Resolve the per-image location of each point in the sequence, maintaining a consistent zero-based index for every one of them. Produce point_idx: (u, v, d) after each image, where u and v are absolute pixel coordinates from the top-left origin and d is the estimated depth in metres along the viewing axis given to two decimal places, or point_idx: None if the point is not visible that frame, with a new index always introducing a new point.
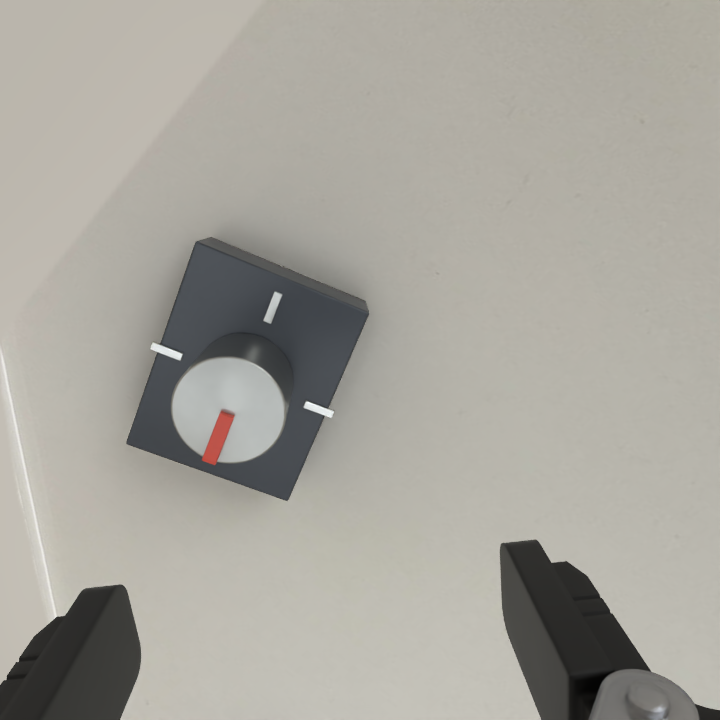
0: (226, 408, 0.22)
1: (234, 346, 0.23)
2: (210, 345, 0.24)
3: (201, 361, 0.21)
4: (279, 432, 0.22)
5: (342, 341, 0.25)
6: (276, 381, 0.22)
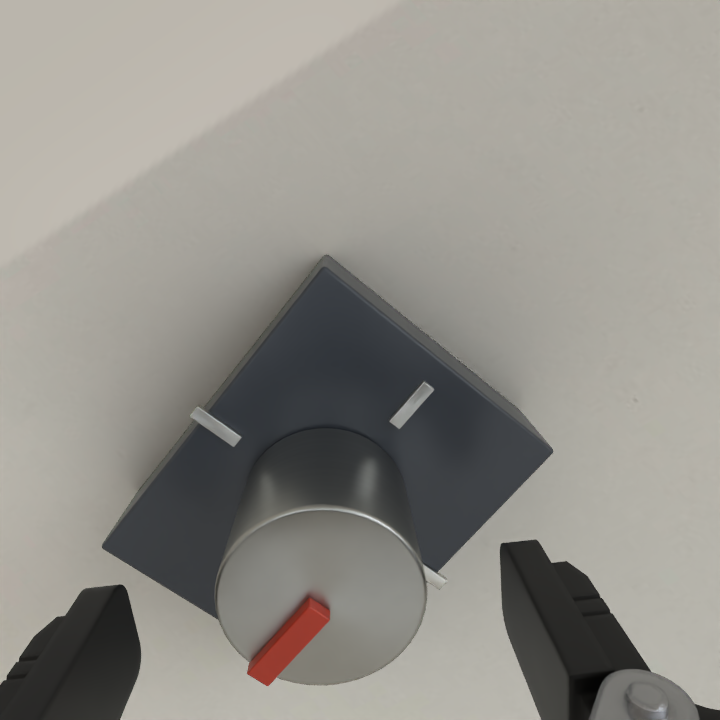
0: (320, 595, 0.12)
1: (353, 474, 0.13)
2: (296, 442, 0.14)
3: (303, 505, 0.11)
4: (397, 654, 0.12)
5: (497, 482, 0.16)
6: (423, 569, 0.12)
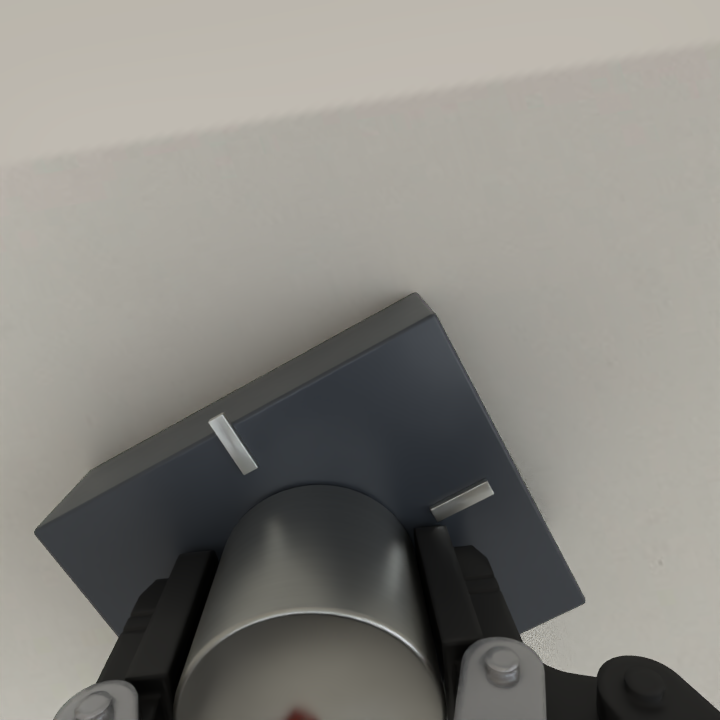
0: (310, 719, 0.09)
1: (353, 554, 0.10)
2: (283, 504, 0.12)
3: (288, 606, 0.09)
4: None
5: (514, 614, 0.14)
6: (442, 685, 0.09)
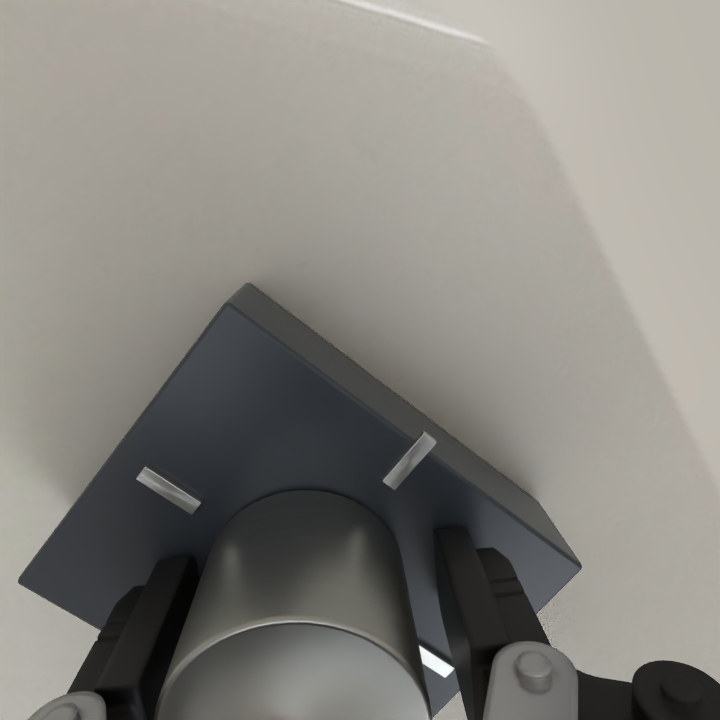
0: None
1: (334, 560, 0.10)
2: (265, 512, 0.12)
3: (265, 617, 0.09)
4: None
5: None
6: (426, 689, 0.09)
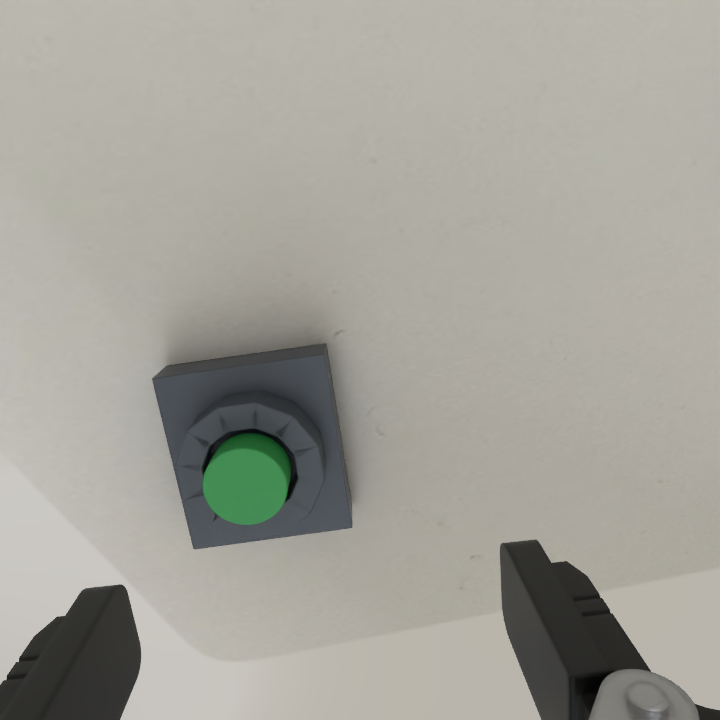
0: None
1: None
2: None
3: None
4: None
5: None
6: None
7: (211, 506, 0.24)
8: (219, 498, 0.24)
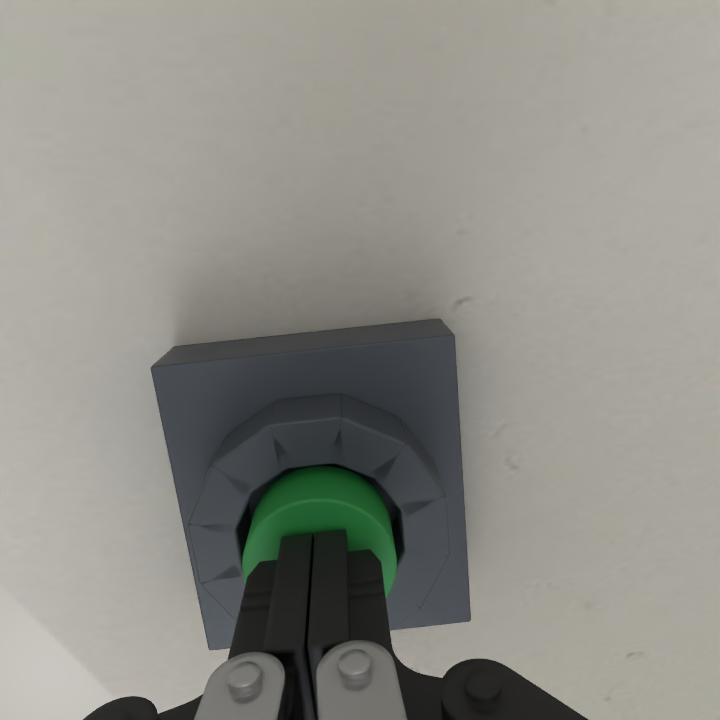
0: None
1: None
2: None
3: None
4: None
5: None
6: None
7: None
8: None
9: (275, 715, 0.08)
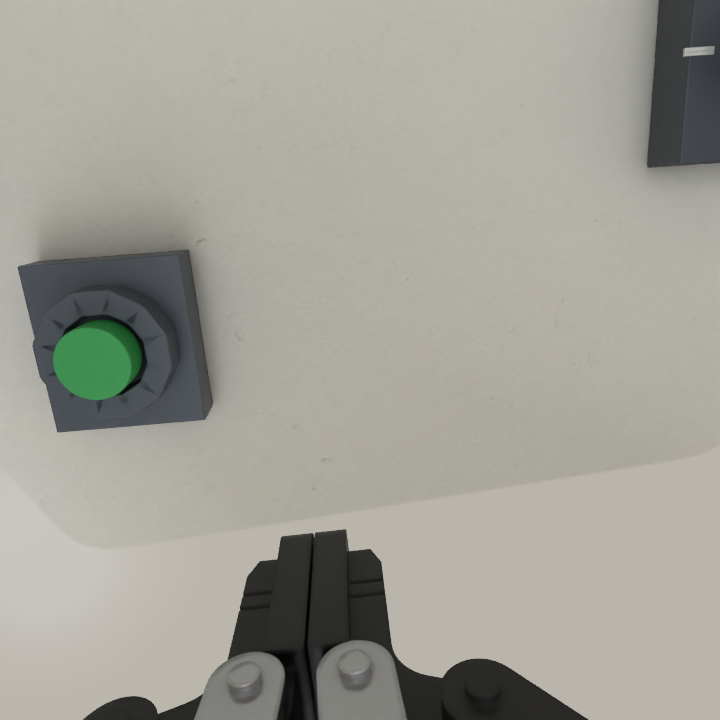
0: None
1: None
2: None
3: None
4: None
5: (695, 128, 0.28)
6: None
7: (61, 380, 0.27)
8: (68, 373, 0.27)
9: (275, 715, 0.08)
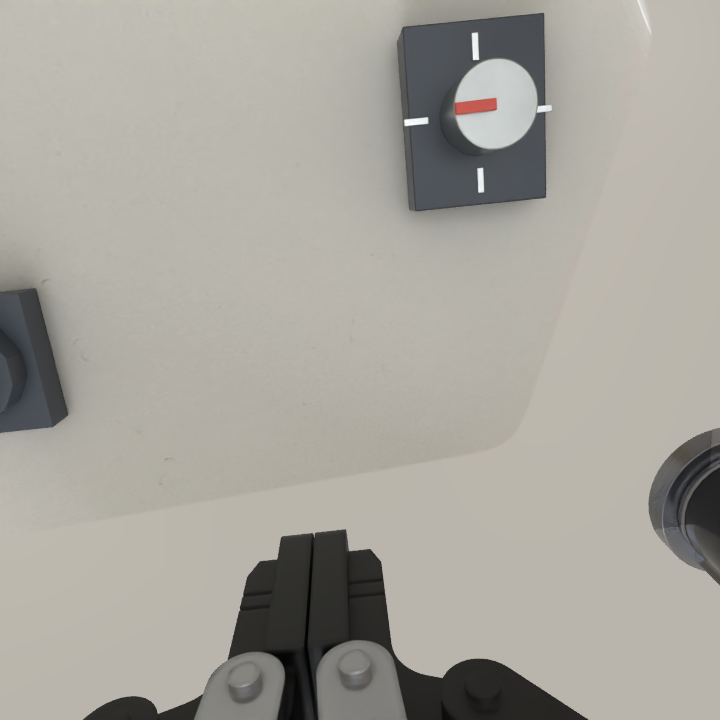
0: (498, 102, 0.29)
1: None
2: None
3: (522, 67, 0.29)
4: (497, 147, 0.30)
5: (423, 181, 0.34)
6: (530, 126, 0.30)
7: None
8: None
9: (275, 715, 0.08)
